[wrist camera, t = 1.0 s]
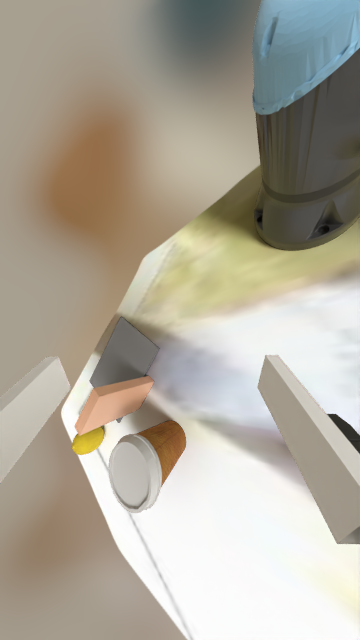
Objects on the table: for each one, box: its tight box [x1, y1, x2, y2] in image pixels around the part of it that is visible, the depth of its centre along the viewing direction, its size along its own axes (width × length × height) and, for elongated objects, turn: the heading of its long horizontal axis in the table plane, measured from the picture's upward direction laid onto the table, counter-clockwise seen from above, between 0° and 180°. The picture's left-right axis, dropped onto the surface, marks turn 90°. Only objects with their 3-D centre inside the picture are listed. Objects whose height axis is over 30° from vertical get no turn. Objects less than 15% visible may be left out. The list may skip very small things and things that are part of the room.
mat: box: [90, 317, 160, 423], centre depth 44 cm, size 22×16×1 cm
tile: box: [75, 376, 154, 436], centre depth 34 cm, size 8×2×14 cm, turn 147°
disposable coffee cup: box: [109, 421, 186, 513], centre depth 29 cm, size 10×10×12 cm
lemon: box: [72, 427, 104, 455], centre depth 41 cm, size 6×6×8 cm
